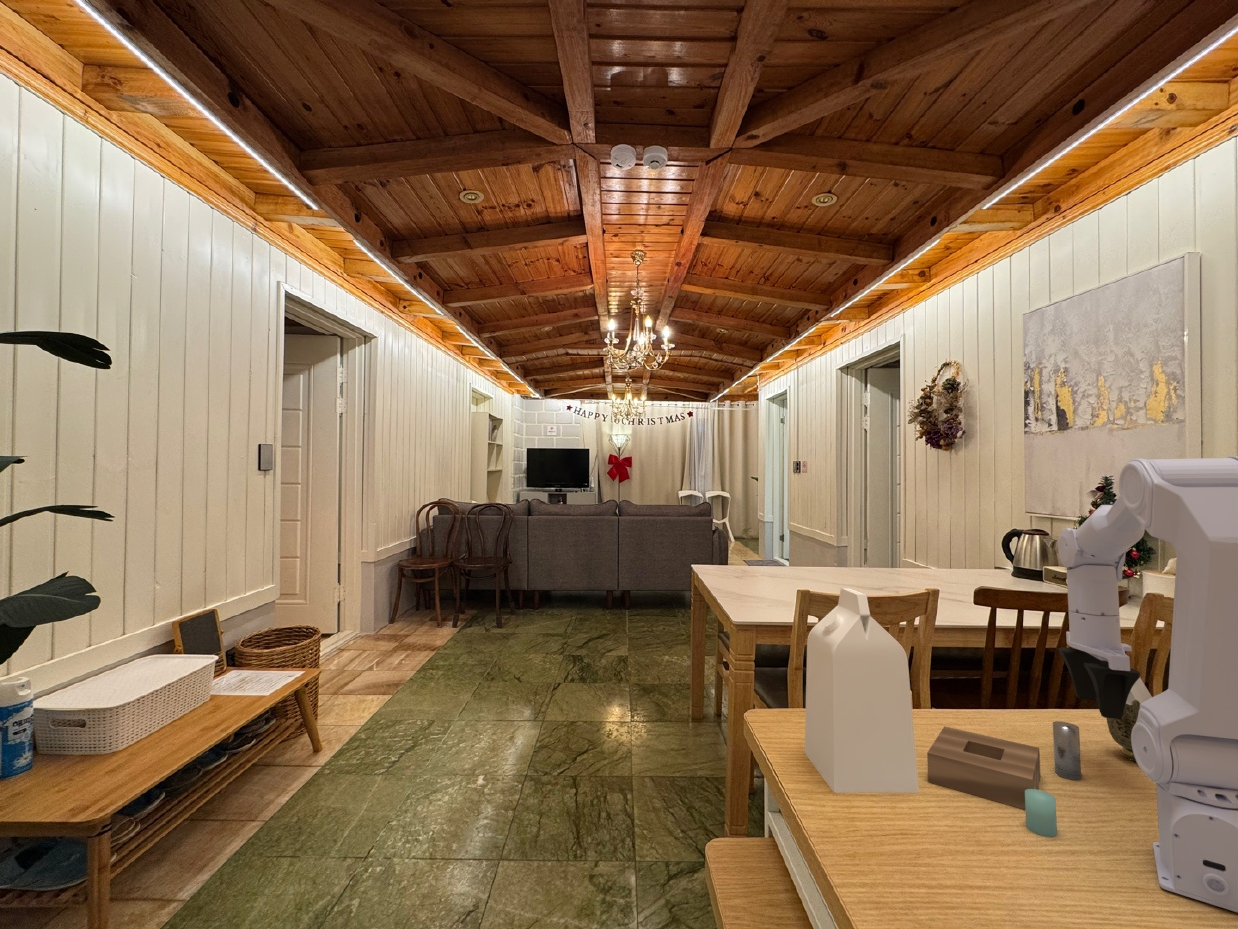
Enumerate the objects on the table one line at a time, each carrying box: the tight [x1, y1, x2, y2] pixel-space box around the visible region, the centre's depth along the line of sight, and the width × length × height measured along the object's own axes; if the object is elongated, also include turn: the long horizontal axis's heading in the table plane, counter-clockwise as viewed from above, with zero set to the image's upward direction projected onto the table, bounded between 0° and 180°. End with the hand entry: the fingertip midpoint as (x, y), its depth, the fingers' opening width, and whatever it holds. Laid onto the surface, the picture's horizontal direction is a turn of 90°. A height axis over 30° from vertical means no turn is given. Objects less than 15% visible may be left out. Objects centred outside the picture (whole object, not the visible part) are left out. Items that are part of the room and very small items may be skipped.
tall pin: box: [1052, 720, 1082, 781], centre depth 82 cm, size 3×3×7 cm
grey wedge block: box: [1126, 677, 1153, 705], centre depth 96 cm, size 4×7×10 cm, turn 124°
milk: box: [804, 587, 920, 794], centre depth 84 cm, size 12×12×26 cm
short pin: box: [1024, 789, 1058, 838], centre depth 68 cm, size 3×3×4 cm
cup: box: [1105, 700, 1140, 763], centre depth 87 cm, size 8×7×8 cm
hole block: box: [926, 725, 1041, 811], centre depth 81 cm, size 12×12×4 cm
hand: (1098, 708), depth 82 cm, fingers open, 7 cm apart
